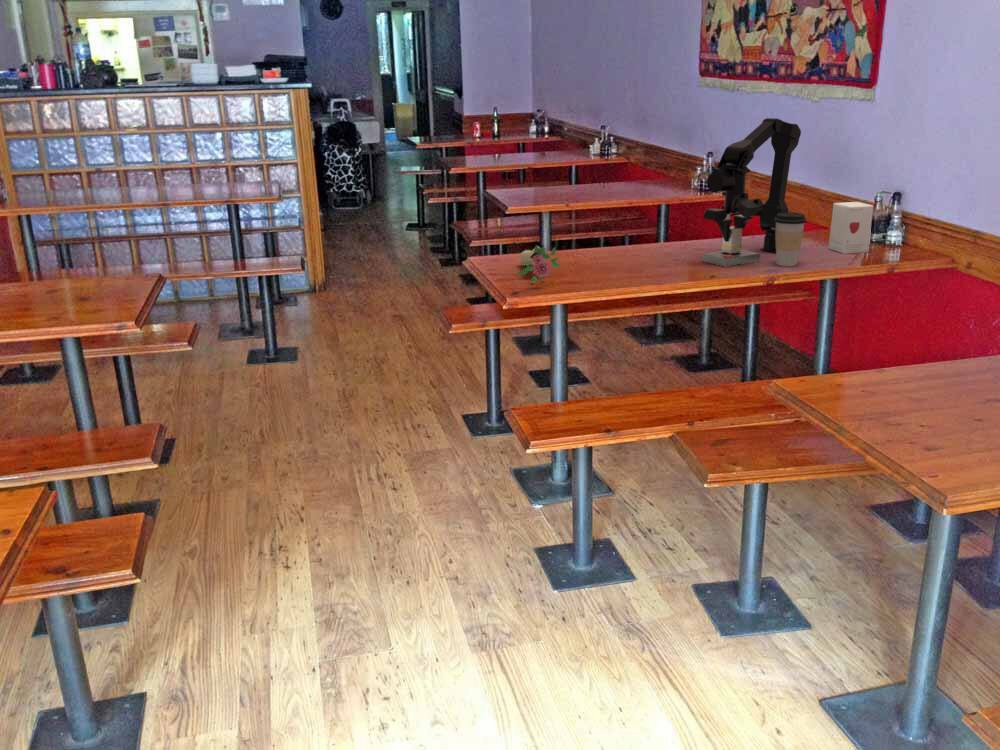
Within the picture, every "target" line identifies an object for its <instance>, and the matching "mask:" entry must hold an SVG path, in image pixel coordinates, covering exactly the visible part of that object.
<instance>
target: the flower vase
mask: <svg viewBox="0 0 1000 750" xmlns="http://www.w3.org/2000/svg"><path fill="white" fill-rule="evenodd" d="M556 250H557V249H556V246H554V247H553V248H552V250H551V253H550V255H549V254H548V253H547V252H546V247H545V246H543V247H540V246H539V245H537V244H536V245H535V247H534V248H533V249H532V250H530V249H525V250H524V251H522V252H520V255H519V261H520V263H521V264H522V265H523V264H525V265H526V266H525V265H524V266H525V268H522V270H521V271H519V273H518V275H519V276H523V275H526V274H528V272H532V273H533V274H535V275H536V276H532V278H531V279H530V282H533V281H536V282H537V281H538V279H539V280H540V281H541V280H542V279H546V278H545V277H547V276H549V277H550V276H551V270H552V267H553V268H561V265H560V263H558V262H557V261H558V260H559V259H560V256H557V257H554V258H551V256H555V254H556ZM549 259H550V260H549ZM548 261H550V262H551V263H549V262H548ZM531 264H532V265H531ZM529 265H530V266H529ZM550 266H551V267H550ZM537 277H538V278H537Z"/></svg>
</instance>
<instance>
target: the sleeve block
mask: <svg viewBox="0 0 1000 750" xmlns="http://www.w3.org/2000/svg"><path fill="white" fill-rule="evenodd" d="M701 255H702V259H701V261H702V262H703V261H704V262H703V263H707V262H708V263H707V264H711V263H713V264H712V265H714V264H717V265H716V266H718V265H720V266H719V267H722V266H728V267H732V266H731V265H735V266H738V265H737V264H741V265H744V264H743V263H748V264H751V263H750V262H754V263H758V262H757V261H759V262H760V261H761V260H760V258H761V254H760V253H759V252H755V251H751V250H746V249H743V248H741V252H739V253H732V254H730V253H726V252H722V250H718V251H717V250H716V251H709V252H704V253H703V252H702V254H701Z"/></svg>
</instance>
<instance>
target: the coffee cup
mask: <svg viewBox="0 0 1000 750" xmlns="http://www.w3.org/2000/svg"><path fill="white" fill-rule="evenodd" d="M807 219H808V218H806V217H805V214H804V213H799V212H788V213H778V214H777V216H776V217H775V218H774V222H776V230H775V239H776V254H775V256H776V265H777V264H778V265H777V266H779V265H781V266H780V267H795V265H796V266H797V265H798V259H799V254H800V250H801V246H802V242H803V241H802V240H803V235H804V227H805V224H806V223H807V222H808V221H807Z"/></svg>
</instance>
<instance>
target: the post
mask: <svg viewBox="0 0 1000 750" xmlns="http://www.w3.org/2000/svg"><path fill="white" fill-rule="evenodd" d="M742 239H743V232H742V228H740V227H735V226H734V225H730V231H729V239H728V242H726V241H725V240H724V238H723V237H722V244H721V251H722V252H726V253H730V254H732V253H739V252H741V249H743V248H742V247H743V245H742Z"/></svg>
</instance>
